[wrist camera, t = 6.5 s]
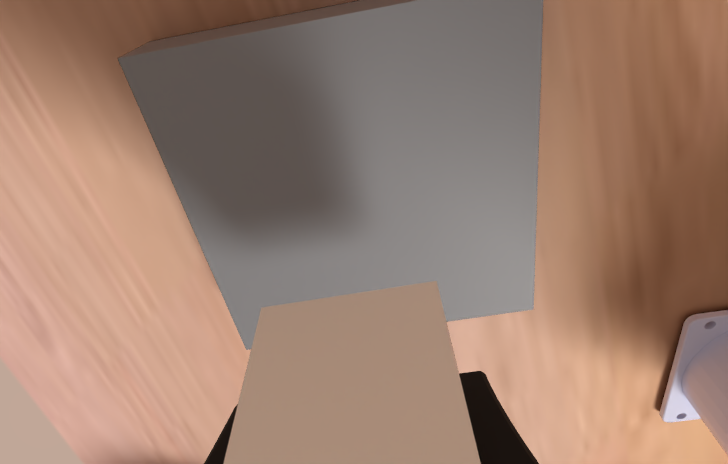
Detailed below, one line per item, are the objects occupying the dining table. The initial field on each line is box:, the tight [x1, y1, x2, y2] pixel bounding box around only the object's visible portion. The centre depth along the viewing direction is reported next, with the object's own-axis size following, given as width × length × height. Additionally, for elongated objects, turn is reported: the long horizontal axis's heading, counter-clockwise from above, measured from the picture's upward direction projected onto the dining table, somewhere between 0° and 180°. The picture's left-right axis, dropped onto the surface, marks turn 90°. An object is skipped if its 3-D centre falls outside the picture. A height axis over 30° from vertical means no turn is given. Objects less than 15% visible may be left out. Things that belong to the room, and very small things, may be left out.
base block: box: [118, 0, 543, 350], centre depth 17 cm, size 12×12×2 cm
